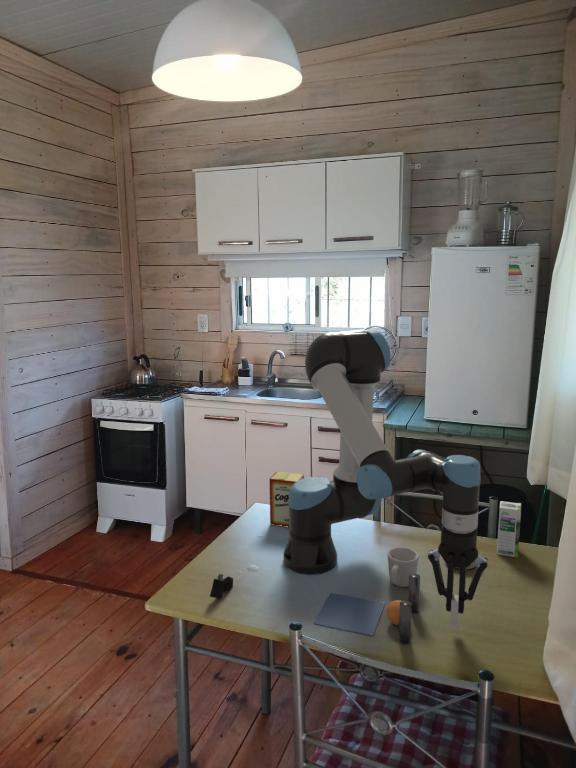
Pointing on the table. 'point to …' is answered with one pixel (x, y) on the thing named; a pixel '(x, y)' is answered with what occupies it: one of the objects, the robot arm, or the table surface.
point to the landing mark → (350, 613)
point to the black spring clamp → (221, 586)
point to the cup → (402, 565)
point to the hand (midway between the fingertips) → (454, 624)
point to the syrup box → (509, 529)
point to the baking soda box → (281, 496)
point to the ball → (394, 612)
